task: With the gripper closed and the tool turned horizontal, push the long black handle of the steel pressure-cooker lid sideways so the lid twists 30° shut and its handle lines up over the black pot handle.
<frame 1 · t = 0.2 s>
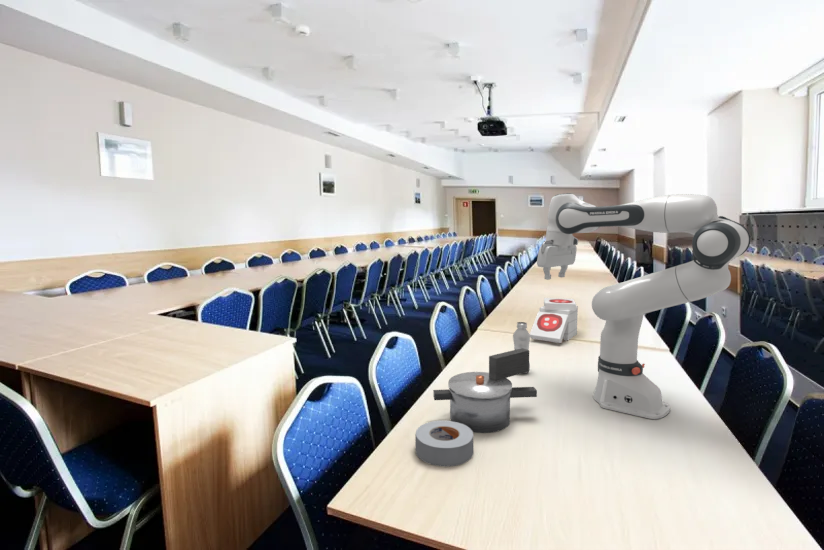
hand: (554, 278, 156), 39 cm above the table, tool pointing down, fingers open, 8 cm apart
tape roll: (444, 451, 115), on the table
cooker pot: (479, 418, 133), on the table
plastic bottle: (521, 372, 172), on the table
cooker lid: (492, 370, 134), point 14 cm above the table, hinge at 30.0°
pizza boxes: (554, 338, 221), on the table
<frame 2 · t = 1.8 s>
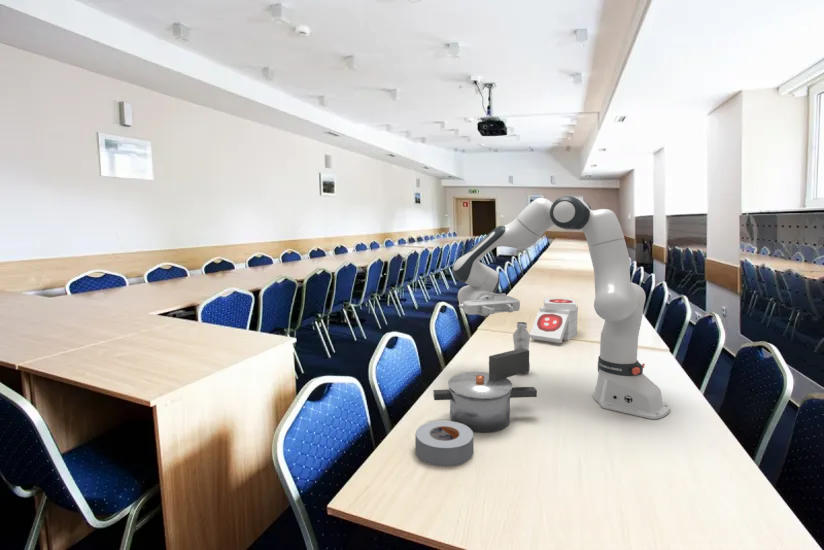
hand: (502, 310, 145), 30 cm above the table, tool horizontal, fingers open, 5 cm apart
nothing on the table moved.
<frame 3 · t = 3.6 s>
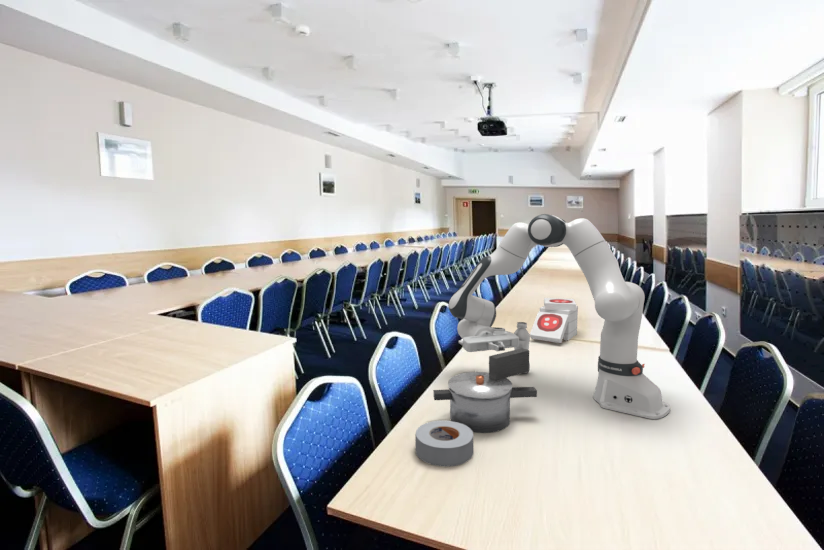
hand: (501, 348, 146), 17 cm above the table, tool horizontal, fingers closed
nothing on the table moved.
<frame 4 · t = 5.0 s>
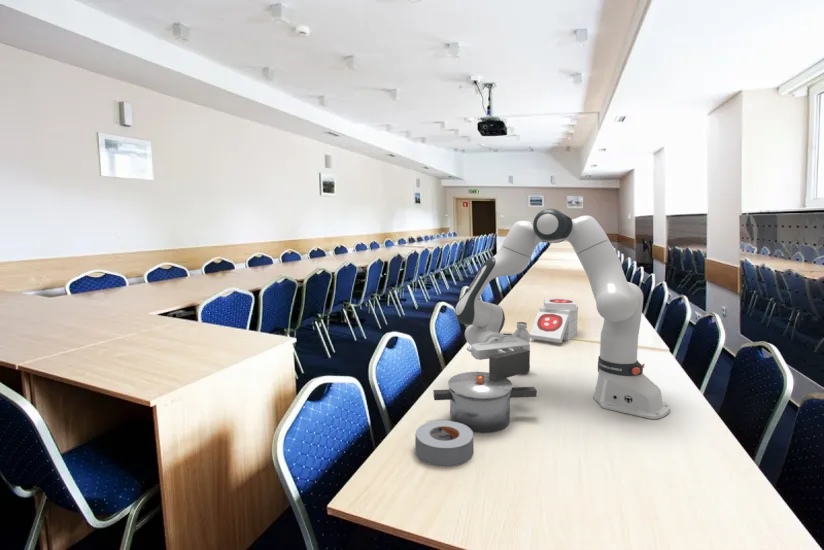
hand: (511, 356, 140), 16 cm above the table, tool horizontal, fingers closed
cooker lid: (492, 370, 134), point 14 cm above the table, hinge at 29.3°, touching gripper
everything else where it was.
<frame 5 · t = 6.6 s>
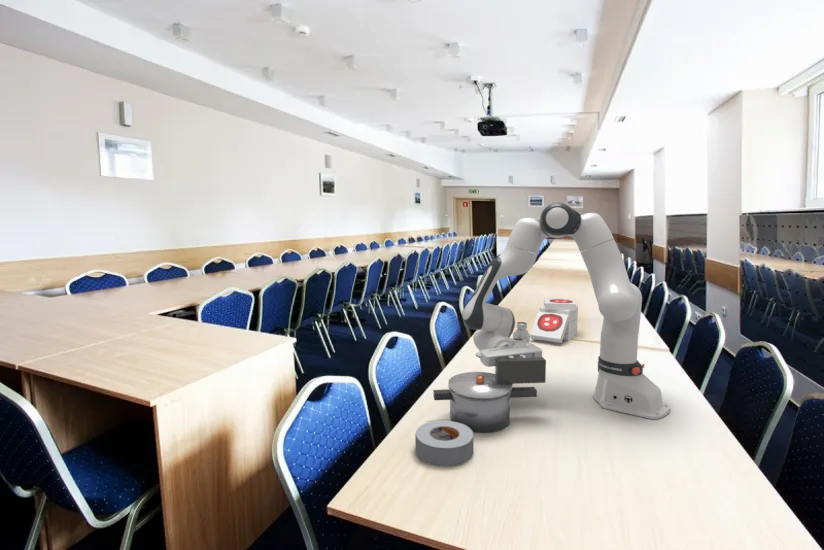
hand: (523, 363, 133), 16 cm above the table, tool horizontal, fingers closed
cooker lid: (496, 373, 131), point 14 cm above the table, hinge at -0.3°, touching gripper
everything else where it was.
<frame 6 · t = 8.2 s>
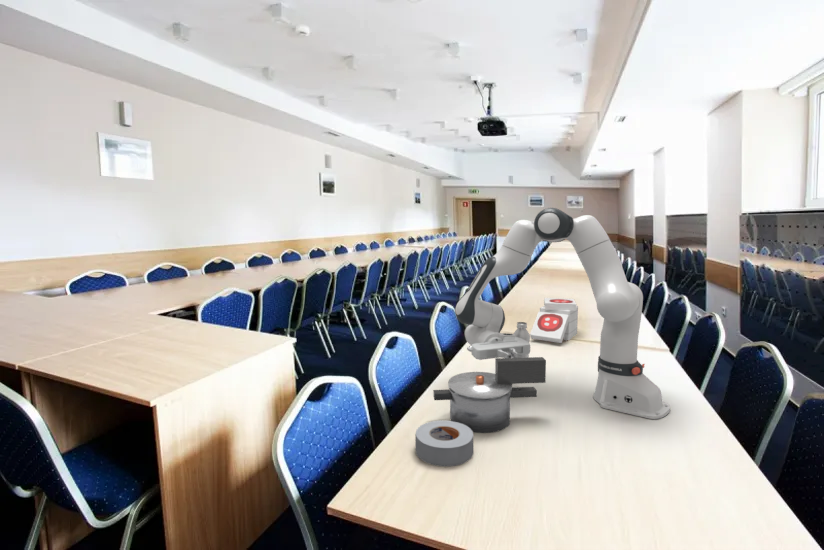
hand: (512, 356, 139), 17 cm above the table, tool horizontal, fingers closed
cooker lid: (496, 373, 131), point 14 cm above the table, hinge at -0.3°
everything else where it was.
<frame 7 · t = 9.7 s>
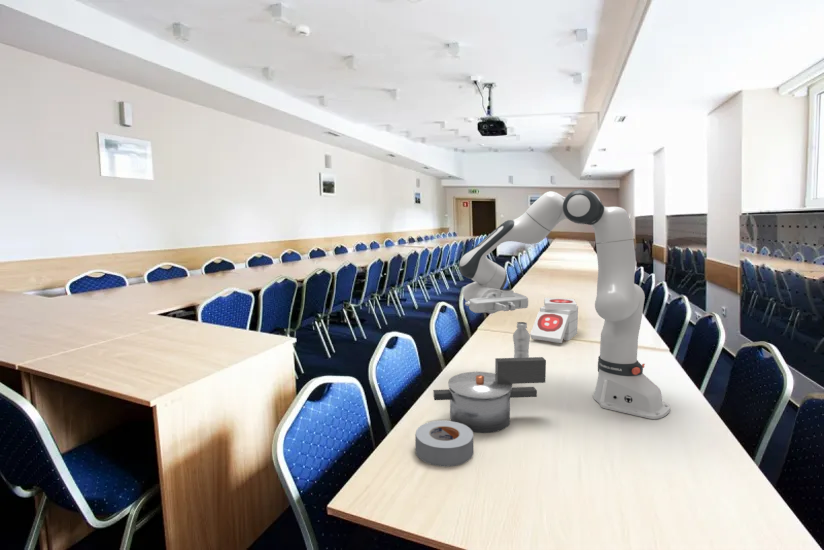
hand: (510, 308, 140), 32 cm above the table, tool horizontal, fingers closed
nothing on the table moved.
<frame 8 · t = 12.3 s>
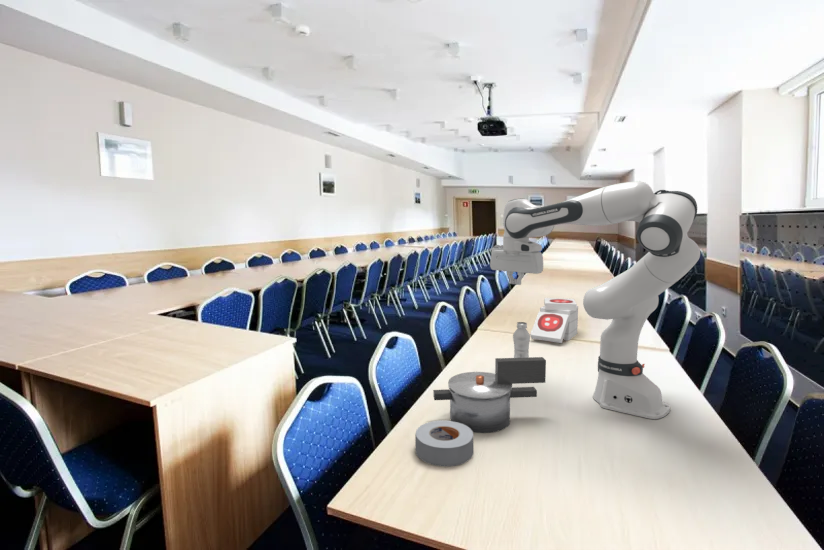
hand: (515, 284, 155), 37 cm above the table, tool pointing down, fingers closed
nothing on the table moved.
at the end: cooker lid at +0° (first picture: +30°) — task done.
